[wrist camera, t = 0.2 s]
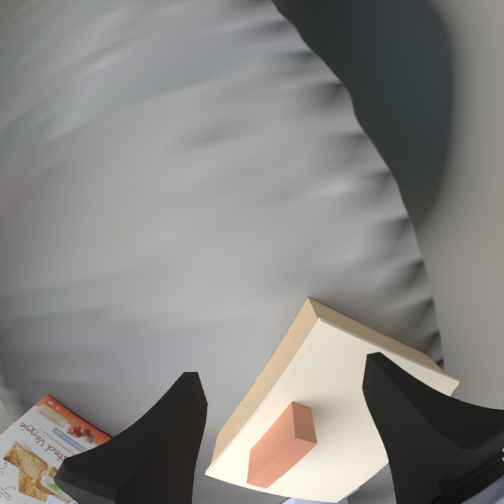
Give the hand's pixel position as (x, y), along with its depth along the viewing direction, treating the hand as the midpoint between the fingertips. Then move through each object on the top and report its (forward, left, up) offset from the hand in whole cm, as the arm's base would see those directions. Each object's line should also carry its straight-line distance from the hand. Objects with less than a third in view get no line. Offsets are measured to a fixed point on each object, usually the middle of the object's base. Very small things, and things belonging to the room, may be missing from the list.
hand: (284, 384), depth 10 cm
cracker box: (-29, +12, -11) cm, 33 cm away
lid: (-7, -9, -5) cm, 12 cm away
